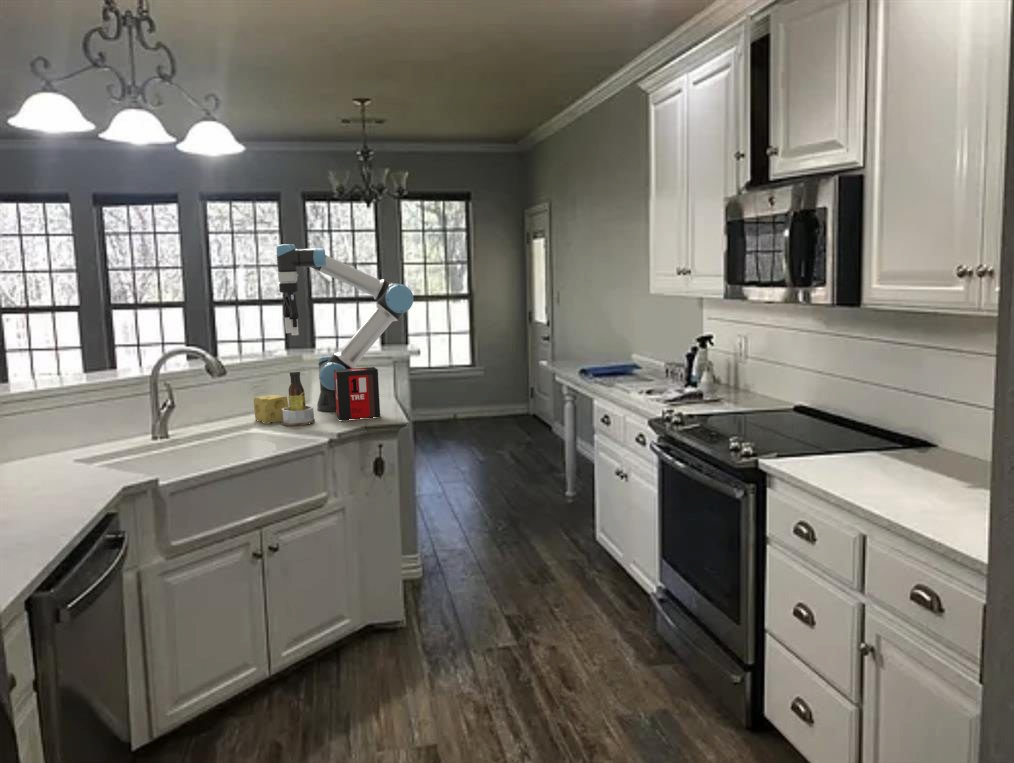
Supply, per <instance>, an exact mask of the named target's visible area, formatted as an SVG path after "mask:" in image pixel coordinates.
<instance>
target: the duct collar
mask: <svg viewBox="0 0 1014 763" xmlns="http://www.w3.org/2000/svg"><path fill="white" fill-rule="evenodd" d="M314 412H315V411H314V406H312V405H306V409H305V410H297V411H290V406H288V407H286V408H283V409H282V421H281V423H282V422H283V423H305V422H310V421H313V420H314V419H315V414H314Z"/></svg>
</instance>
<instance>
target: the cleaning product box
mask: <svg viewBox="0 0 1014 763" xmlns="http://www.w3.org/2000/svg"><path fill="white" fill-rule="evenodd" d="M334 380H335V396H336V411H335V413H336V419H337V418H338V419H339V420H349V419H360V418H373V417H380V418H381V406H380V404H381V403H380V402H381V400H380V386H379V385H380V384H379V369H378V368H376V367H375V366H371V367H370V366H369V367H356V368H353V369H339V370H334ZM338 419H337V420H338ZM339 420H338V421H339Z"/></svg>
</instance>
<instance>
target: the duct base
mask: <svg viewBox="0 0 1014 763" xmlns="http://www.w3.org/2000/svg"><path fill="white" fill-rule="evenodd" d="M313 422H316V418H314V420H313V421H310V422H305V423H283V422H282V421H281V425H282V426H285V427H299V426H298V425H303V426H306V425H305V424H309V423H312V424H314V423H313ZM309 425H310V424H309Z"/></svg>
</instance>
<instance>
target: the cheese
mask: <svg viewBox="0 0 1014 763" xmlns="http://www.w3.org/2000/svg"><path fill="white" fill-rule="evenodd" d="M286 407H289V400H288V397H287V396H286V395H277V394H270V395H264V396H262V395H261V396H256V397H253V408H254V418H255V421H256V420H258V421H257V422H260V421H262V422H261V423H263V422H264V423H263V424H270V423H269V422H272V423H276V421H278V422H282V409H283V408H286Z"/></svg>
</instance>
